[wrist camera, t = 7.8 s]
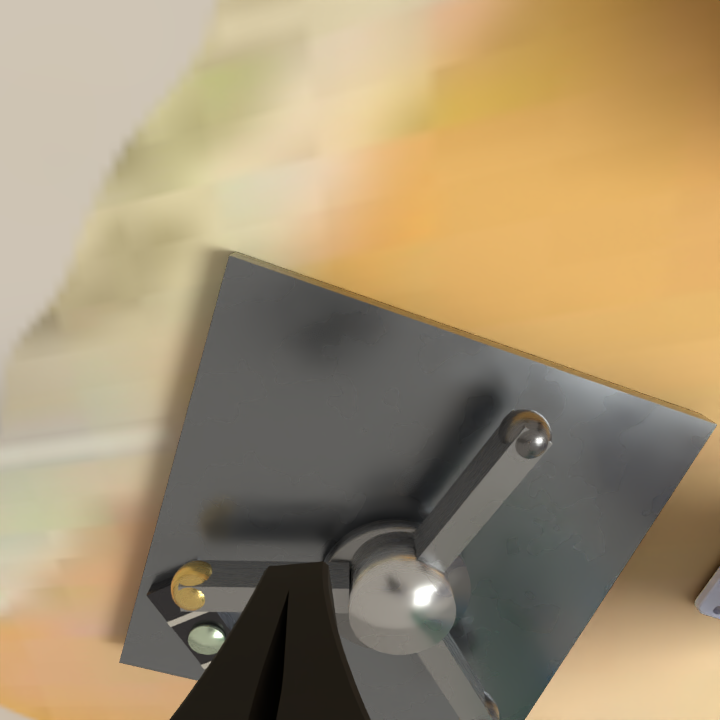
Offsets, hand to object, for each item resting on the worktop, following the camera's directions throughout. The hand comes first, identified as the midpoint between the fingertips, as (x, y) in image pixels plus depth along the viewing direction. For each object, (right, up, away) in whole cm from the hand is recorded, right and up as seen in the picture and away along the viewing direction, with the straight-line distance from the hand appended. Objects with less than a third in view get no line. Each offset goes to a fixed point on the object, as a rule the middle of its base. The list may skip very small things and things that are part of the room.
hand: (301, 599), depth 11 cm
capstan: (+1, -3, +10) cm, 11 cm away
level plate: (+3, -3, +11) cm, 12 cm away
